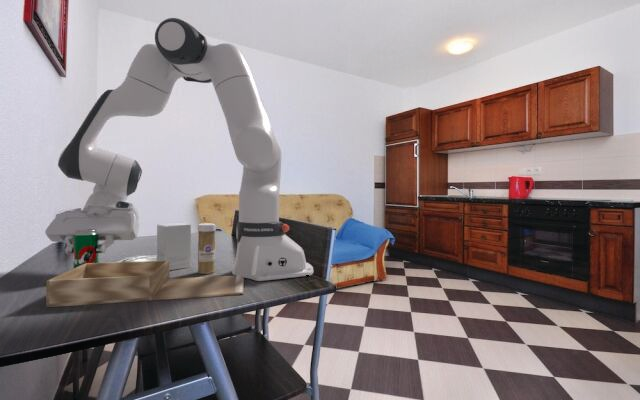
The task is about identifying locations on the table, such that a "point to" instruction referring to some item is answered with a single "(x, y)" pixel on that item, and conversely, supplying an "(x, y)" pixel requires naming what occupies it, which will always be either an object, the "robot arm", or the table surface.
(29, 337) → the table surface
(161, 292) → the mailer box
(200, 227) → the sprinkles bottle
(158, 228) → the supplement box
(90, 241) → the soda can
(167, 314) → the table surface
